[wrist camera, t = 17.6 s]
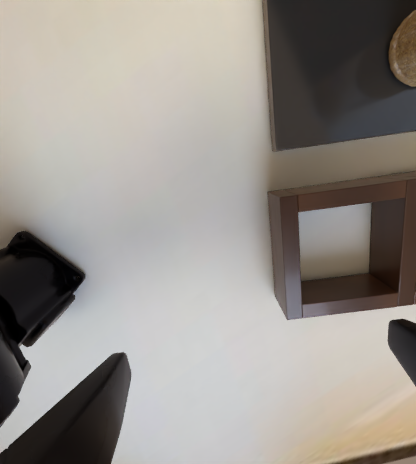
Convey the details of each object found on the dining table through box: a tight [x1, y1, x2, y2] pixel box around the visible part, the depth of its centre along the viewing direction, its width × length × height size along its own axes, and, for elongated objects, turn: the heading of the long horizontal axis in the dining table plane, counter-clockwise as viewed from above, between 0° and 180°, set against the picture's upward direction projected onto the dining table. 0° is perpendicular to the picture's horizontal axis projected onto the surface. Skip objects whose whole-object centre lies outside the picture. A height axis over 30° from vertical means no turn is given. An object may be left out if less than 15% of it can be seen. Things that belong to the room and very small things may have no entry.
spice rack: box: [268, 171, 416, 320], centre depth 19 cm, size 18×10×4 cm, turn 98°
